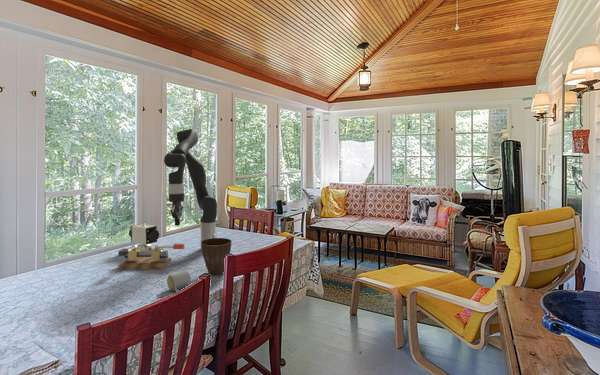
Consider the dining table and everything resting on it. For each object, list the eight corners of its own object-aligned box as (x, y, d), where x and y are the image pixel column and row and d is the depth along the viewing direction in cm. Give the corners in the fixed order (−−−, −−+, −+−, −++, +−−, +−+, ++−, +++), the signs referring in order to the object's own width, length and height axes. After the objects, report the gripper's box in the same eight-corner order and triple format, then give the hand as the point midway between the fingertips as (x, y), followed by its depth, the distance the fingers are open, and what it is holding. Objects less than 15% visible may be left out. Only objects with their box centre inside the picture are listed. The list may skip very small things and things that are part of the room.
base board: (171, 261, 188) (171, 257, 187) (162, 269, 174) (161, 265, 174) (131, 261, 187) (131, 257, 187) (118, 269, 173) (118, 265, 173)
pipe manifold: (168, 260, 183) (168, 247, 182) (165, 262, 178) (164, 249, 177) (127, 260, 182) (126, 247, 182) (122, 262, 177) (122, 249, 177)
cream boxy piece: (161, 252, 205) (161, 223, 203) (150, 255, 197) (149, 225, 196) (141, 248, 213) (140, 220, 211) (129, 251, 205) (128, 223, 203)
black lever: (137, 247, 181) (137, 243, 180) (123, 256, 166) (123, 251, 165) (133, 247, 181) (132, 243, 180) (118, 256, 165) (118, 251, 165)
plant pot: (236, 269, 175) (236, 238, 174) (223, 279, 161) (223, 246, 159) (210, 266, 178) (209, 237, 177) (195, 276, 164) (194, 244, 163)
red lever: (155, 248, 181) (155, 243, 181) (184, 248, 181) (184, 243, 181) (153, 249, 179) (153, 244, 178) (183, 249, 179) (182, 244, 179)
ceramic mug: (166, 288, 148) (165, 271, 148) (184, 284, 154) (184, 267, 153) (175, 296, 141) (175, 278, 140) (194, 291, 146) (194, 274, 145)
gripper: (173, 191, 181) (174, 223, 183) (164, 193, 168) (165, 228, 170) (187, 191, 182) (188, 222, 183) (179, 193, 169) (180, 228, 170)
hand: (177, 225), depth 177 cm, fingers closed
